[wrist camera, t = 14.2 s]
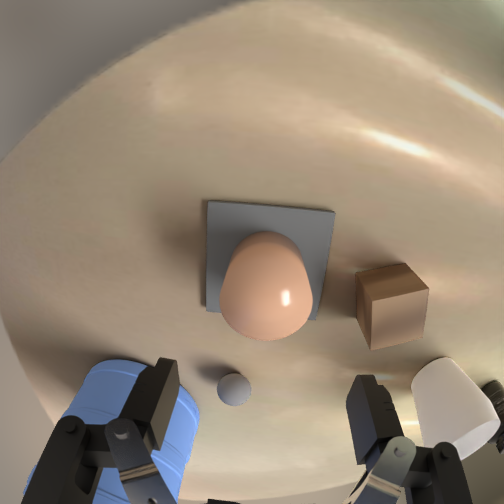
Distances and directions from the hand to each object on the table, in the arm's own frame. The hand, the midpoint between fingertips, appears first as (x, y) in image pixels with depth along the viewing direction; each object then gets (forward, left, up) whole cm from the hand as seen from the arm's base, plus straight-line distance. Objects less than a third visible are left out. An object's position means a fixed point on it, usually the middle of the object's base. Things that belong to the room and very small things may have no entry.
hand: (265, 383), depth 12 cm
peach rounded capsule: (0, 0, -13) cm, 13 cm away
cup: (+14, +23, -14) cm, 31 cm away
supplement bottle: (+21, +39, -14) cm, 47 cm away
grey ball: (+14, -2, -14) cm, 20 cm away
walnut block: (+2, +11, -14) cm, 18 cm away
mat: (0, 0, -14) cm, 14 cm away
